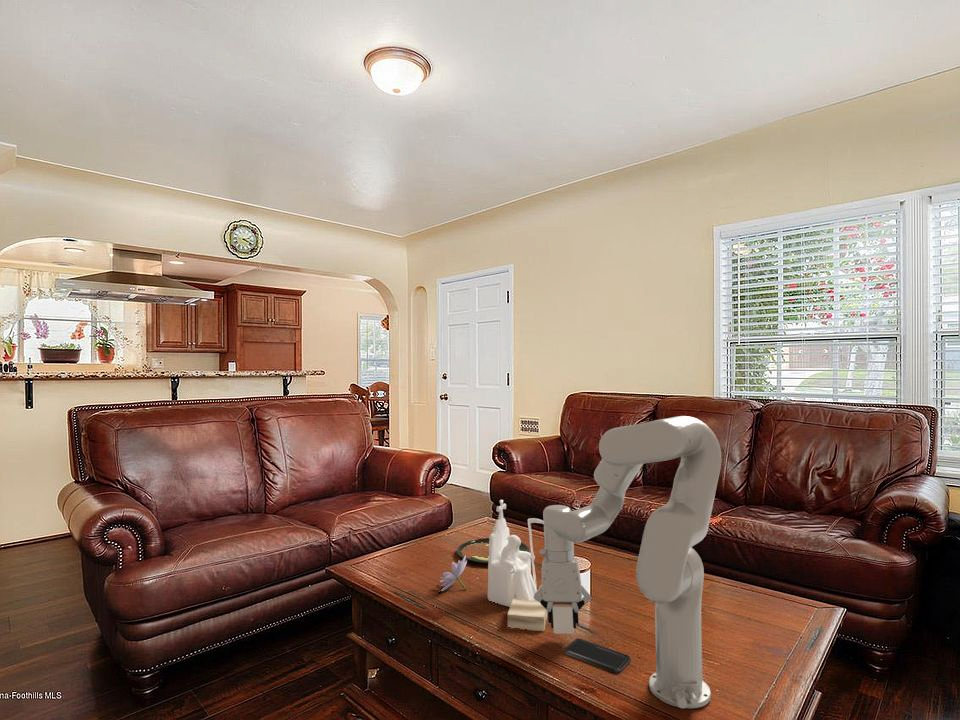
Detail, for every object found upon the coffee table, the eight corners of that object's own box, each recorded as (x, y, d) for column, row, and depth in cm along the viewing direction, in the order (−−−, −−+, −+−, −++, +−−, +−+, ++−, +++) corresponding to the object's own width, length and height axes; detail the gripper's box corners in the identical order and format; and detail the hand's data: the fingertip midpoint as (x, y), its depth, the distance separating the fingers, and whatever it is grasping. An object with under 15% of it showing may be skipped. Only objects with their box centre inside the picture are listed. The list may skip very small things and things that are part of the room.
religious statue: (522, 614, 152) (523, 511, 152) (484, 602, 160) (485, 503, 160) (551, 593, 166) (551, 499, 166) (514, 583, 174) (515, 492, 174)
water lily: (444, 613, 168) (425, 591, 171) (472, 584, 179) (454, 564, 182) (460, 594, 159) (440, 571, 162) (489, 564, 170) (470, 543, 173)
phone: (618, 671, 121) (562, 649, 131) (618, 676, 121) (562, 654, 131) (632, 656, 127) (577, 637, 137) (632, 661, 127) (577, 641, 137)
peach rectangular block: (573, 633, 133) (572, 605, 133) (553, 633, 134) (552, 604, 134) (573, 625, 138) (571, 597, 138) (554, 624, 138) (552, 597, 139)
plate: (541, 550, 206) (541, 544, 206) (507, 574, 182) (507, 567, 183) (481, 539, 221) (481, 533, 221) (442, 560, 197) (442, 553, 197)
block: (544, 632, 142) (543, 617, 142) (507, 629, 144) (507, 614, 144) (547, 615, 152) (547, 601, 152) (513, 612, 154) (513, 599, 154)
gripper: (526, 559, 134) (529, 631, 133) (593, 559, 132) (598, 633, 131) (528, 549, 142) (531, 618, 141) (592, 550, 139) (596, 620, 138)
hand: (563, 625), depth 136 cm, fingers closed on peach rectangular block, 5 cm apart
